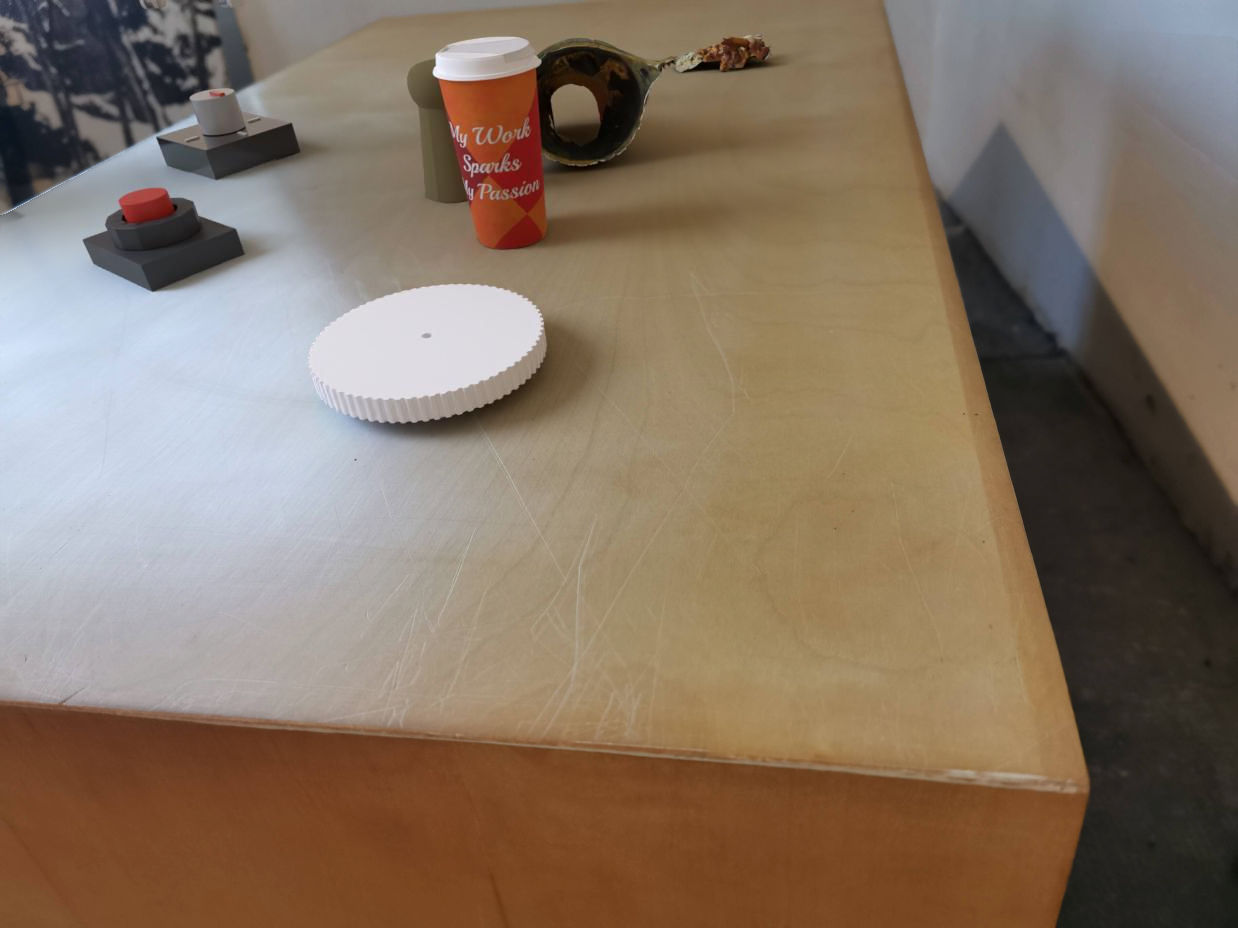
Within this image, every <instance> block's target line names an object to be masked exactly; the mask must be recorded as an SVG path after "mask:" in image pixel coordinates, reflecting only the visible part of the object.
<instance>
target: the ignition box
mask: <svg viewBox="0 0 1238 928" xmlns="http://www.w3.org/2000/svg"><path fill="white" fill-rule="evenodd" d="M170 199H171V202H172V204H173V207H174V209H175V212H173V213H172V214H170V215H168V216H165V217H162V218H159V219H156V220H152V221H147V222H141V223H127V221H126V218H125V216H124V214H123V211H122V209H121V208H120V209H118V210H116V211H115V212H113V213H112V214H110V215H108V216H106V220H105V223H104V226H105V228H106V230H105V231H102V232H98V233H96V234H94V235H90V236H88V237H84V238H83V239H82V240H81V241H82V243H83V245H84V247H85V249H86V251H87V252H88V255H89V257H90V259H91V262H92V264H93V265H94V266H96V267H98V268H101V269H102V270H105V271H107V272H109V273H111V274H113V275H116V276H118V277H120V278H121V279H124V280H126V281H128V282H130V283H133V284H135V285H137V286H139V287H141V288H143V289H145V290H147V291H150V292H152V293H153V292H156V291H158V290H160V289H163V288H165V287H168V286H171V285H173V284H176V283H178V282H180V281H183V280H185V279H187V278H191V277H193V276H195V275H198V274H199V273H202V272H205V271H207V270H210V269H212V268H214V267H217V266H219V265H222V264H224V263H226V262H230V261H231V260H232V261H233V259H236V258H239V257H241V256H244V255H245V254H246V253H245V250H244V247H243V244H242V242H241V239H240V236H239V233H238V230H237V229H236V228H234V227H232V226H230V225H226V224H223V223H221V222H218V221H215V220H213V219H209V218H206V217H205V216H201V215H199V213H198V210H197V208H196V205H195V203H194V200H191V199H188V198H185V197H170Z"/></svg>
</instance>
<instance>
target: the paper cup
mask: <svg viewBox="0 0 1238 928" xmlns="http://www.w3.org/2000/svg"><path fill="white" fill-rule="evenodd" d="M535 53H536V50H535V49H534V48H533V47H532V46H531V43H530V41H529V40H528V39H526V38H522V37H519V36H518V37H517V36H488V37H479V38H474V39H473V38H471V39H465V40H461V41H457V42H453V43H450V44H447V45H445V46H444V47H443V48H441V49H440V50H439V51H438V52H436V53H435V59H436V66H435V67H434V69H433V75H434V76H435V77H437V78H438V79H439V83H440V87H441V91H442V95H443V99H444V104H445V108H446V113H447V117H448V121H449V125H450V129H451V133H452V137H453V141H454V145H455V149H456V154H457V158H458V162H459V166H460V170H461V174H462V178H463V182H464V186H465V191H466V195H467V199H468V200H467V202H468V207H469V210H470V214H471V218H472V222H473V226H474V229H475V233H476V236H477V239H478V241H479V243H480V244H481V245H482V246H484V247H486V248H490V249H495V250H510V249H518V248H523V247H527V246H530V245H533V244H535V243H537V242H539V241H541V240H542V239H544V237H545V236H546V234H547V212H546V211H547V209H546V196H545V180H544V179H545V177H544V167H543V166H544V165H543V164H544V163H543V154H542V148H541V134H540V121H539V107H538V92H537V78H536V67H538V66H539V65H540V64H541V60H540V59H538V57H537V54H535Z"/></svg>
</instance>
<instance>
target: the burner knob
mask: <svg viewBox="0 0 1238 928" xmlns="http://www.w3.org/2000/svg"><path fill="white" fill-rule="evenodd" d="M189 101H190V104H191V107H192V110H193V113H194V115H195V117H196V121H197V123H198V124H199V126H200V129H201V132H202V134H204V135H223V134H228V133H232V132H236V131H238V130H241V129H242V128H244V127H245V122H244V119H243V115H242V112H243V111H242V110H241V109H242V108H241V107H240V103H239V100H238V98H237V94H236V91H235V89H233V88H228V87H226V88H224V87H222V88H213V89H207V90H202V91H199V92H196V93H193V94H191V95H190V96H189Z"/></svg>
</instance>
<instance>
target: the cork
mask: <svg viewBox="0 0 1238 928" xmlns="http://www.w3.org/2000/svg"><path fill="white" fill-rule="evenodd" d="M435 66H436V58H432V59H427V60H424V61H420V62H419V63H416V64H414V65H413V66H412V67H410V69H409V70H408V72H407V76H406V86H407V91H408V92H409V94H410V97H411V99H412V101H413V102H414V103H415V104H416V105H417V106H418V118H419V131H420V143H421V145H420V146H421V157H422V169H423V171H422V172H423V182H424V183H423V184H424V193H425V194H424V195H425V197H426V199H428V200H429V201H433V202H436V203H437V202H438V203H445V204H449V203H460V202H465V201H467V202H468V199H467V195H466V191H465V186H464V182H463V178H462V174H461V170H460V166H459V162H458V158H457V154H456V149H455V145H454V141H453V137H452V133H451V129H450V125H449V121H448V117H447V113H446V108H445V104H444V99H443V95H442V91H441V87H440V83H439V79H438V78H437V77H435V76H434V75H433V69H434V67H435Z"/></svg>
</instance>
